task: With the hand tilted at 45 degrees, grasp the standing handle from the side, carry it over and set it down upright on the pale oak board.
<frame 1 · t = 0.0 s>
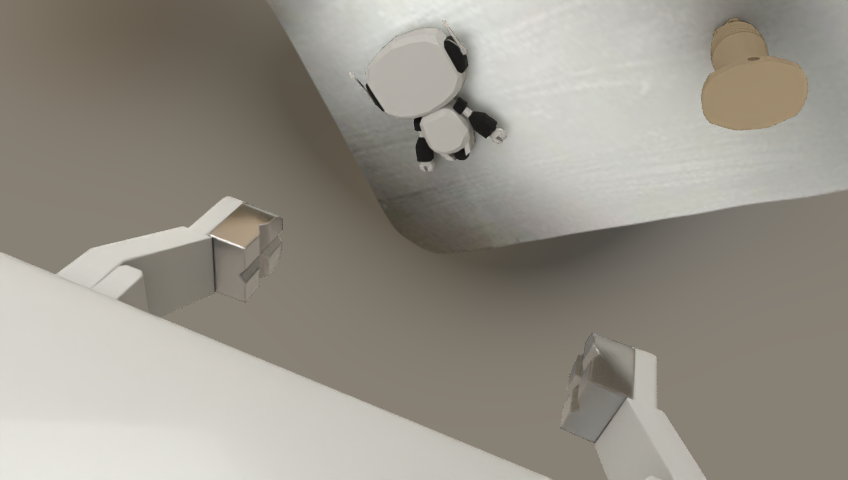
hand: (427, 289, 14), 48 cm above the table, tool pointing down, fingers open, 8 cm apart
handle: (731, 34, 52), on the table
robot toy: (438, 92, 64), on the table
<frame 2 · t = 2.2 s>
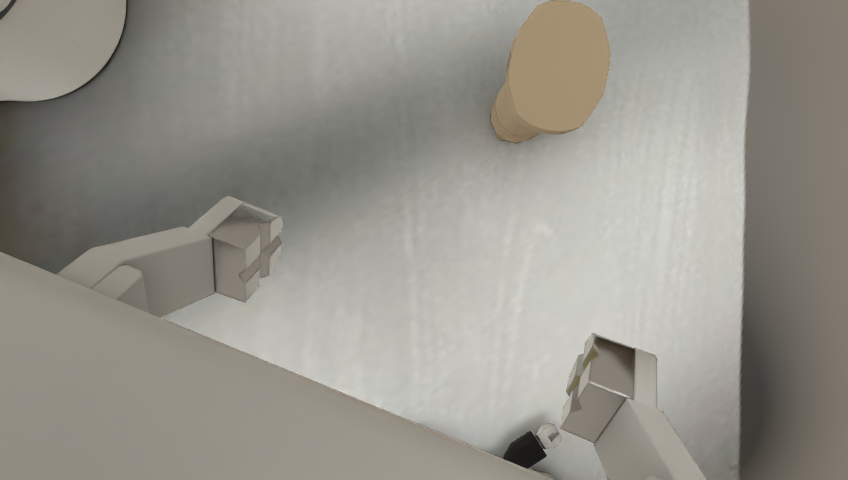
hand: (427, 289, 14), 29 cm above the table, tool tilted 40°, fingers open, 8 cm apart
handle: (510, 123, 44), on the table
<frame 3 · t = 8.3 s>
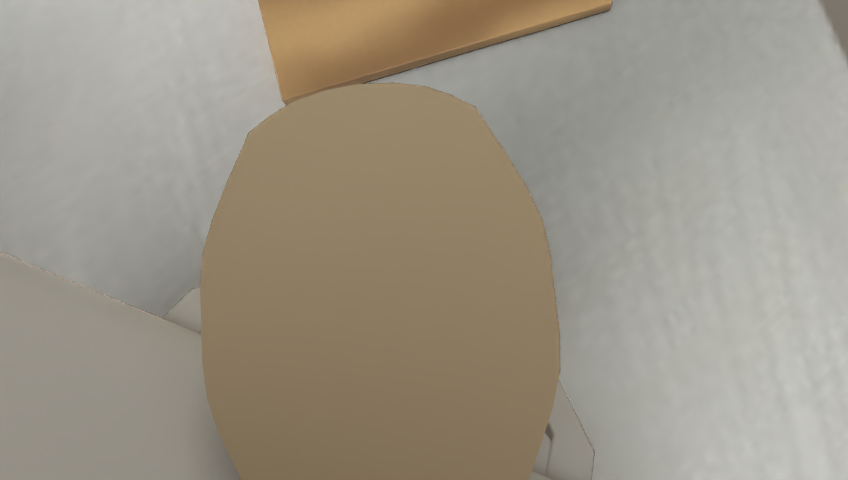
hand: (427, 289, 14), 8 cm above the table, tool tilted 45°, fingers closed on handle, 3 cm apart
handle: (440, 317, 23), on the table, touching gripper
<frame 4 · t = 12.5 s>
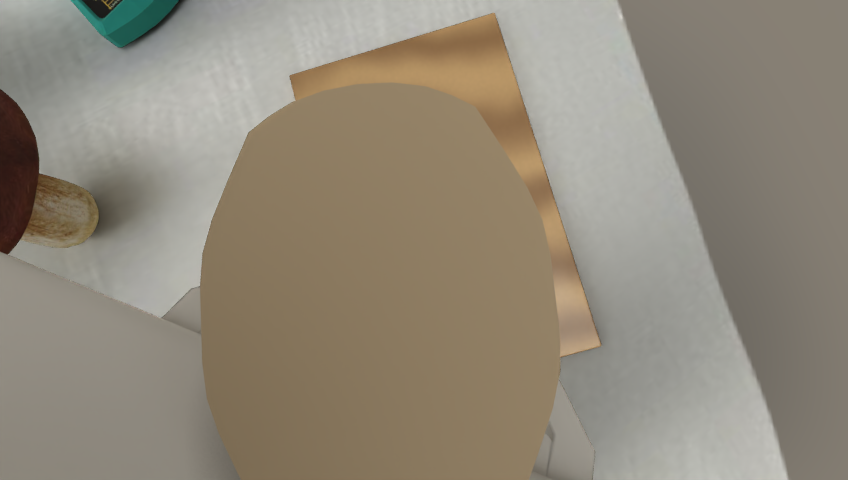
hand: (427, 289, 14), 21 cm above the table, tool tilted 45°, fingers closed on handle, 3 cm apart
handle: (440, 317, 23), point 13 cm above the table, touching gripper
decorative mushroom: (83, 222, 39), on the table
board: (437, 204, 36), on the table
when the fingers open (9 cm above the table, at t = 17.1 s): handle stays where it is, resting on board.
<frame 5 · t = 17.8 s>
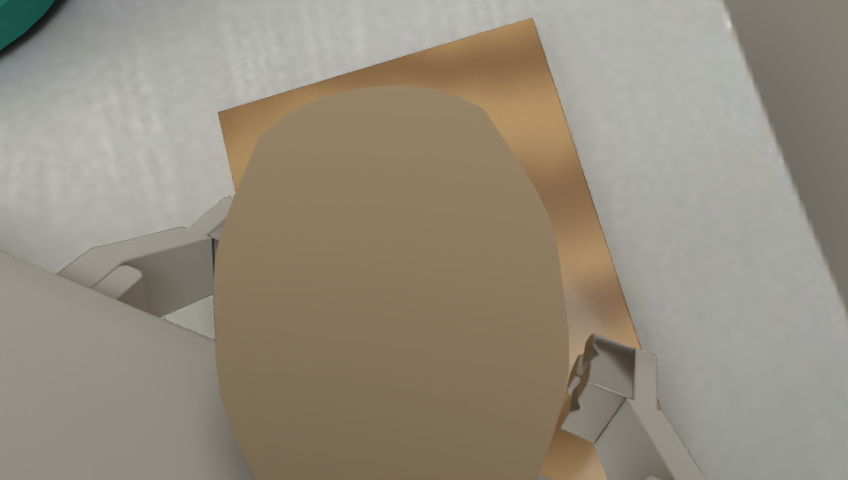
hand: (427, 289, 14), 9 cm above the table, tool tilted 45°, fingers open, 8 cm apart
handle: (446, 318, 23), resting on board
board: (442, 317, 23), on the table
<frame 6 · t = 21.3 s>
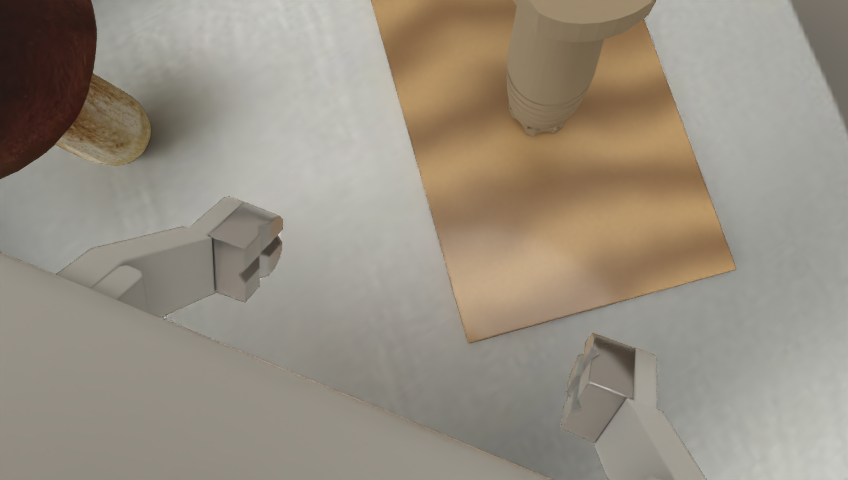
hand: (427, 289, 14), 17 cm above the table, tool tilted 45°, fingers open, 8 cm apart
handle: (539, 111, 31), resting on board
decorative mushroom: (132, 142, 34), on the table
board: (535, 113, 32), on the table
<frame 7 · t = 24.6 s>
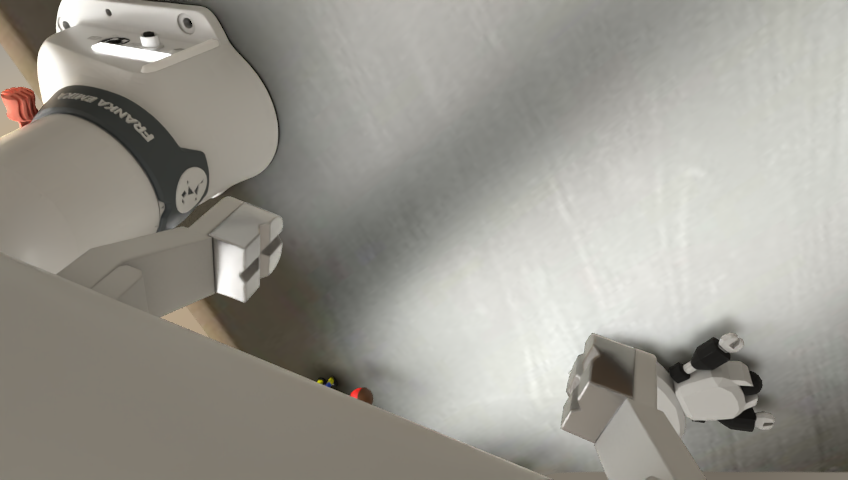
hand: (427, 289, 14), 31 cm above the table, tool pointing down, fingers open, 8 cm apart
robot toy: (669, 374, 54), on the table
toy figure: (329, 379, 71), on the table
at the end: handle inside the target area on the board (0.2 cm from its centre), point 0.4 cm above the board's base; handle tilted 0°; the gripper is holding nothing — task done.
